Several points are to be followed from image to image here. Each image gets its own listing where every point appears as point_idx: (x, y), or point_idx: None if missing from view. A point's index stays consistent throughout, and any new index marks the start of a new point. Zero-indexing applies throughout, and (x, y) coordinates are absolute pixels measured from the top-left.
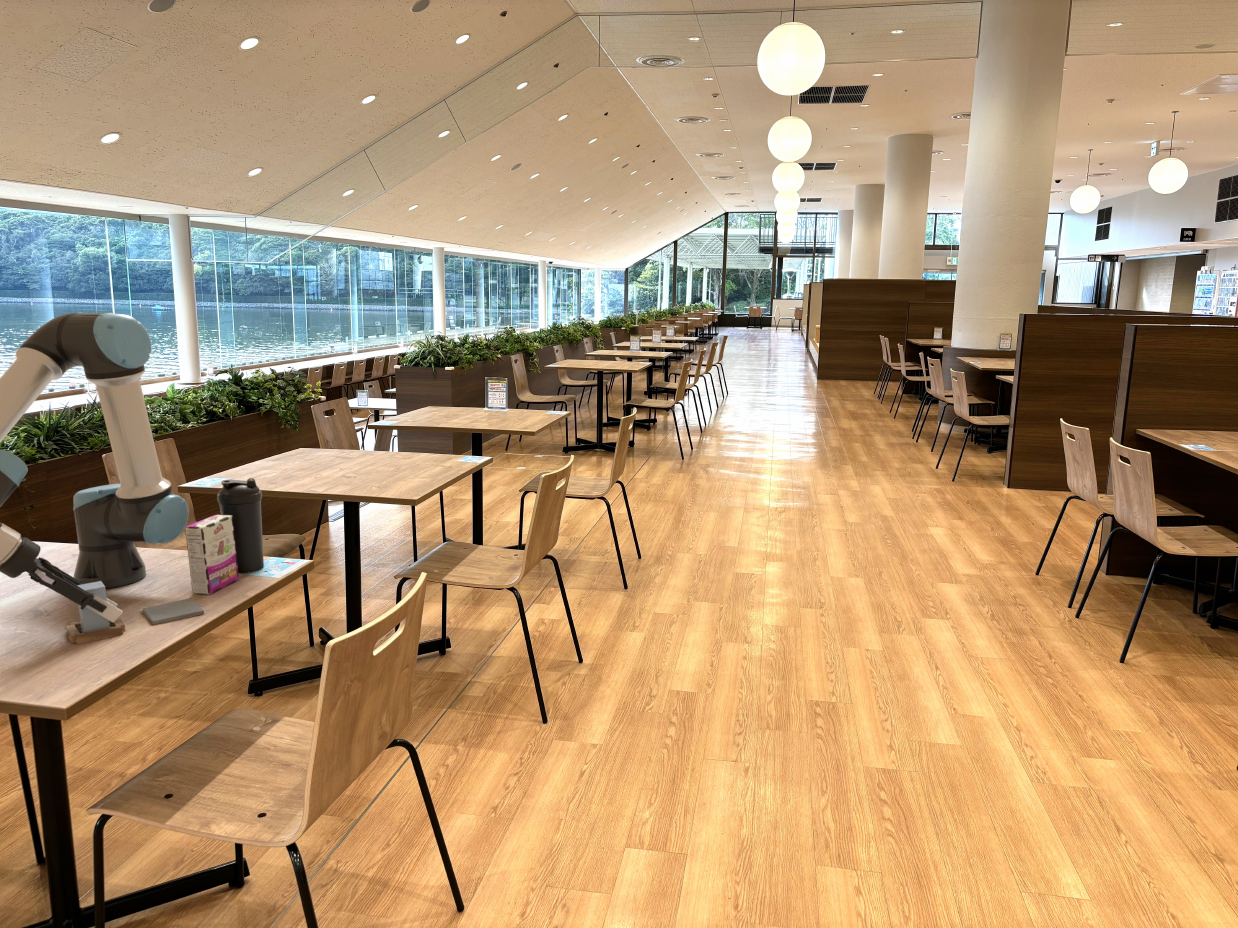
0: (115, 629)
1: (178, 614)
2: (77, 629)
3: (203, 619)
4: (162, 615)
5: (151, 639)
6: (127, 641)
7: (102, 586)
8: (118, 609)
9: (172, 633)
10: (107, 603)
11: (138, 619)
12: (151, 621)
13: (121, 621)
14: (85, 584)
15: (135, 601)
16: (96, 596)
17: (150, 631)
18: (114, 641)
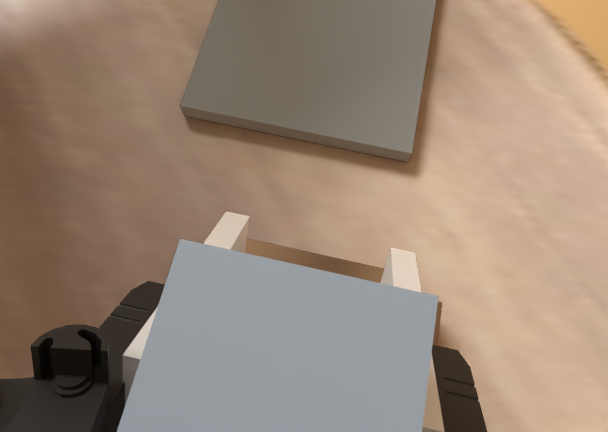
0: (436, 337)
1: (410, 51)
2: None
3: (502, 16)
4: (366, 95)
5: (603, 250)
6: (551, 337)
7: (410, 315)
8: (417, 271)
9: (586, 160)
10: None
11: (275, 172)
12: (374, 152)
13: (342, 264)
14: (151, 420)
15: (14, 77)
16: (438, 413)
17: (488, 207)
18: (504, 382)
